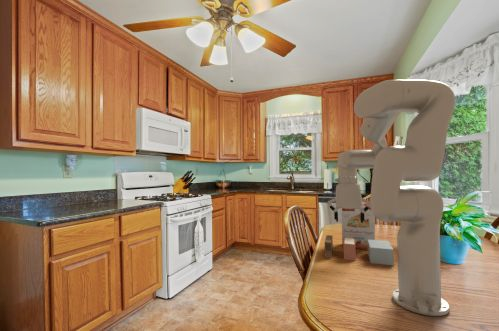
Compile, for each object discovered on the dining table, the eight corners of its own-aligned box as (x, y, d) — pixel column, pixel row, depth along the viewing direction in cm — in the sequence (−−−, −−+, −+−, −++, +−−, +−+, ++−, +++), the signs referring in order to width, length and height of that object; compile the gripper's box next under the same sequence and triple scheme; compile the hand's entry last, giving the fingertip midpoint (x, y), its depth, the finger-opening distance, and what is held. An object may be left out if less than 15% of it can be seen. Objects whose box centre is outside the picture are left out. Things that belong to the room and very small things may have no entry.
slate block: (394, 265, 93) (393, 249, 93) (370, 262, 96) (370, 247, 96) (388, 255, 104) (388, 241, 104) (367, 253, 107) (367, 239, 107)
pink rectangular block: (355, 260, 99) (355, 244, 99) (344, 259, 100) (343, 243, 100) (355, 253, 108) (354, 238, 108) (344, 252, 110) (344, 237, 110)
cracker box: (342, 247, 116) (341, 202, 117) (341, 243, 122) (340, 201, 122) (375, 249, 112) (374, 203, 112) (373, 245, 118) (372, 201, 118)
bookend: (331, 258, 101) (330, 242, 101) (324, 258, 102) (324, 242, 102) (332, 249, 112) (332, 235, 113) (327, 249, 113) (326, 235, 113)
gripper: (325, 181, 105) (327, 222, 104) (371, 181, 98) (373, 224, 97) (327, 181, 112) (328, 219, 111) (369, 180, 105) (371, 221, 104)
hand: (349, 221), depth 104 cm, fingers open, 9 cm apart
